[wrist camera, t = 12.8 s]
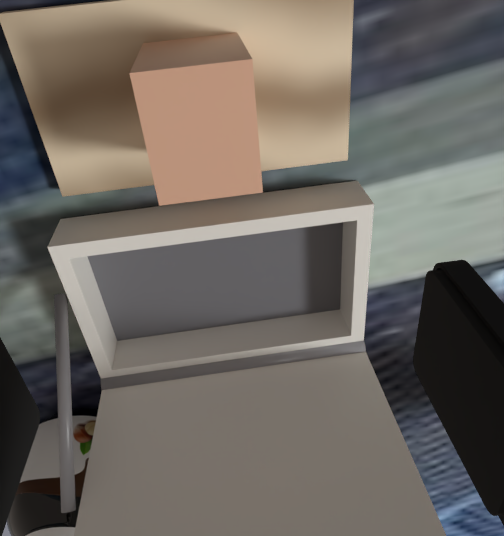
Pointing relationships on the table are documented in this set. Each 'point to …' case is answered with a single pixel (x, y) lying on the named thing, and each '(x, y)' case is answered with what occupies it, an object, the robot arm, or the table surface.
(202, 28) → the oak board
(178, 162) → the block
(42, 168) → the table surface
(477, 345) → the robot arm
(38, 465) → the spread jar
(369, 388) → the case
